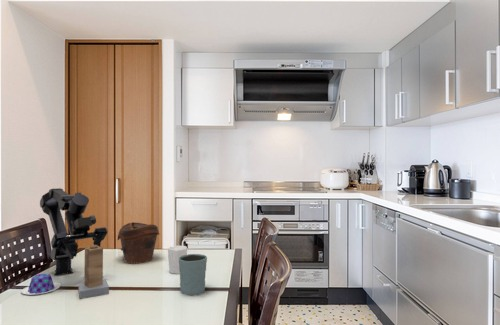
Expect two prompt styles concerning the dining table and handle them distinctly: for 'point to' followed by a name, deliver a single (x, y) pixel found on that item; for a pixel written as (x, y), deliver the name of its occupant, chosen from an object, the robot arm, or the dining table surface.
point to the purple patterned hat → (41, 285)
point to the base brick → (93, 290)
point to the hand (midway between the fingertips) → (86, 255)
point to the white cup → (175, 257)
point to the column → (93, 266)
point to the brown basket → (138, 242)
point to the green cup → (192, 273)
